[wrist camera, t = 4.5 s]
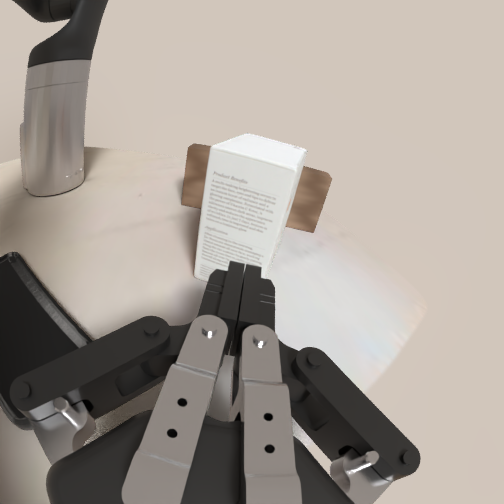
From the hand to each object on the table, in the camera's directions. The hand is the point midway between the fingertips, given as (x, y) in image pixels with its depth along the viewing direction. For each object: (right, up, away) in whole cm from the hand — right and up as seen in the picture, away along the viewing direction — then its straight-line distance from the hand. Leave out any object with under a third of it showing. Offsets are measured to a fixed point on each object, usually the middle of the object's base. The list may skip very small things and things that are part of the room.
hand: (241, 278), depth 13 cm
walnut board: (0, +6, +20) cm, 21 cm away
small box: (-1, 0, +11) cm, 11 cm away
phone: (-16, -4, 0) cm, 17 cm away
